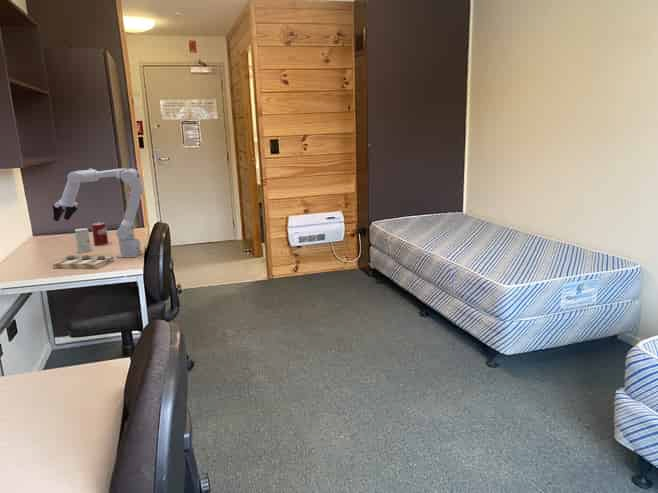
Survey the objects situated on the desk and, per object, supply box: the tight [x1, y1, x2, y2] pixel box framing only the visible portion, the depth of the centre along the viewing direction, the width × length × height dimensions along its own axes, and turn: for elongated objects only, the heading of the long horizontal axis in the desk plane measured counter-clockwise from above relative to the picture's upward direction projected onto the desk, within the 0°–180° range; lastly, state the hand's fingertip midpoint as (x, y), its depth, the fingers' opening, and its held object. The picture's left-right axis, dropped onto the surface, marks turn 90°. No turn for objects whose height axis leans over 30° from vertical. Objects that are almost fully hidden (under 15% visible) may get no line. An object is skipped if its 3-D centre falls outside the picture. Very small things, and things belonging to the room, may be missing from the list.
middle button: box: [82, 255, 90, 260], centre depth 233 cm, size 3×3×2 cm
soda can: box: [91, 222, 109, 247], centre depth 271 cm, size 7×7×12 cm
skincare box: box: [74, 227, 92, 254], centre depth 257 cm, size 6×4×12 cm
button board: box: [52, 255, 115, 270], centre depth 231 cm, size 23×13×3 cm, turn 81°
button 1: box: [66, 255, 75, 260], centre depth 234 cm, size 3×3×2 cm
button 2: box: [97, 255, 106, 260], centre depth 232 cm, size 3×3×2 cm
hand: (61, 220), depth 237 cm, fingers open, 7 cm apart
